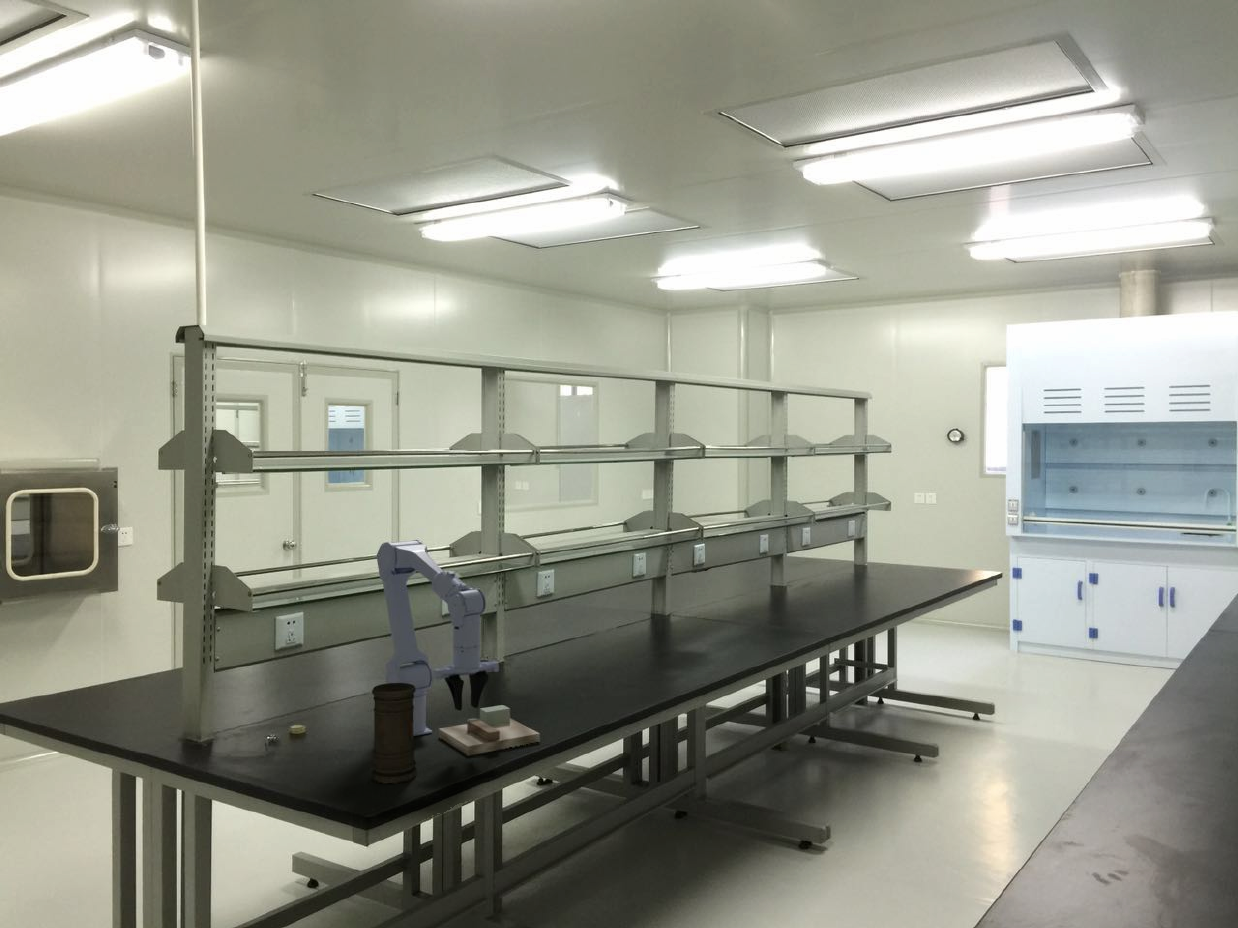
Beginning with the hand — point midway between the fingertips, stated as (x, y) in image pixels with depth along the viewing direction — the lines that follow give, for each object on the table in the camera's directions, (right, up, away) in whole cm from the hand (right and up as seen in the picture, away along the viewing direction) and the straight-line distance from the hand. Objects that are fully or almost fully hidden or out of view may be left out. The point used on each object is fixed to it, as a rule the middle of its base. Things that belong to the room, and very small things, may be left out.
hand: (466, 707), depth 215 cm
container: (-12, -10, -16) cm, 22 cm away
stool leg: (+3, -7, +5) cm, 9 cm away
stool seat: (+4, -9, +8) cm, 13 cm away
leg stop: (+4, -7, +15) cm, 18 cm away
